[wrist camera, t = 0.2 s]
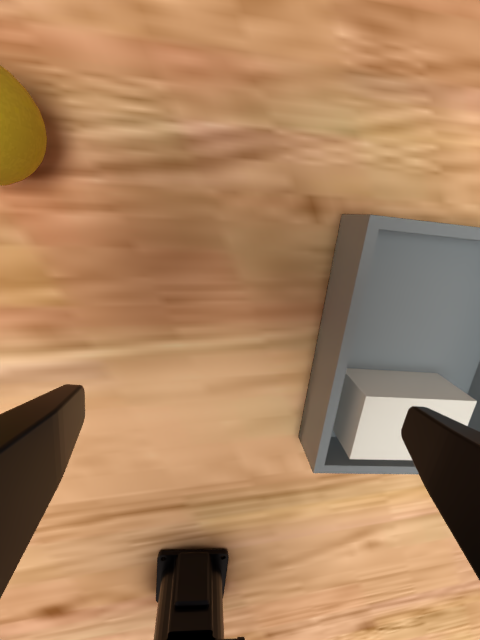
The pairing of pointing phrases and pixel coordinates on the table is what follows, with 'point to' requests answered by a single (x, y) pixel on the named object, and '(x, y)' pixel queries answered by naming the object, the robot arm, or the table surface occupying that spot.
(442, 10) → the table surface
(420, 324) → the tote
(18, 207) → the table surface
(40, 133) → the lemon
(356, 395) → the white rectangular block
